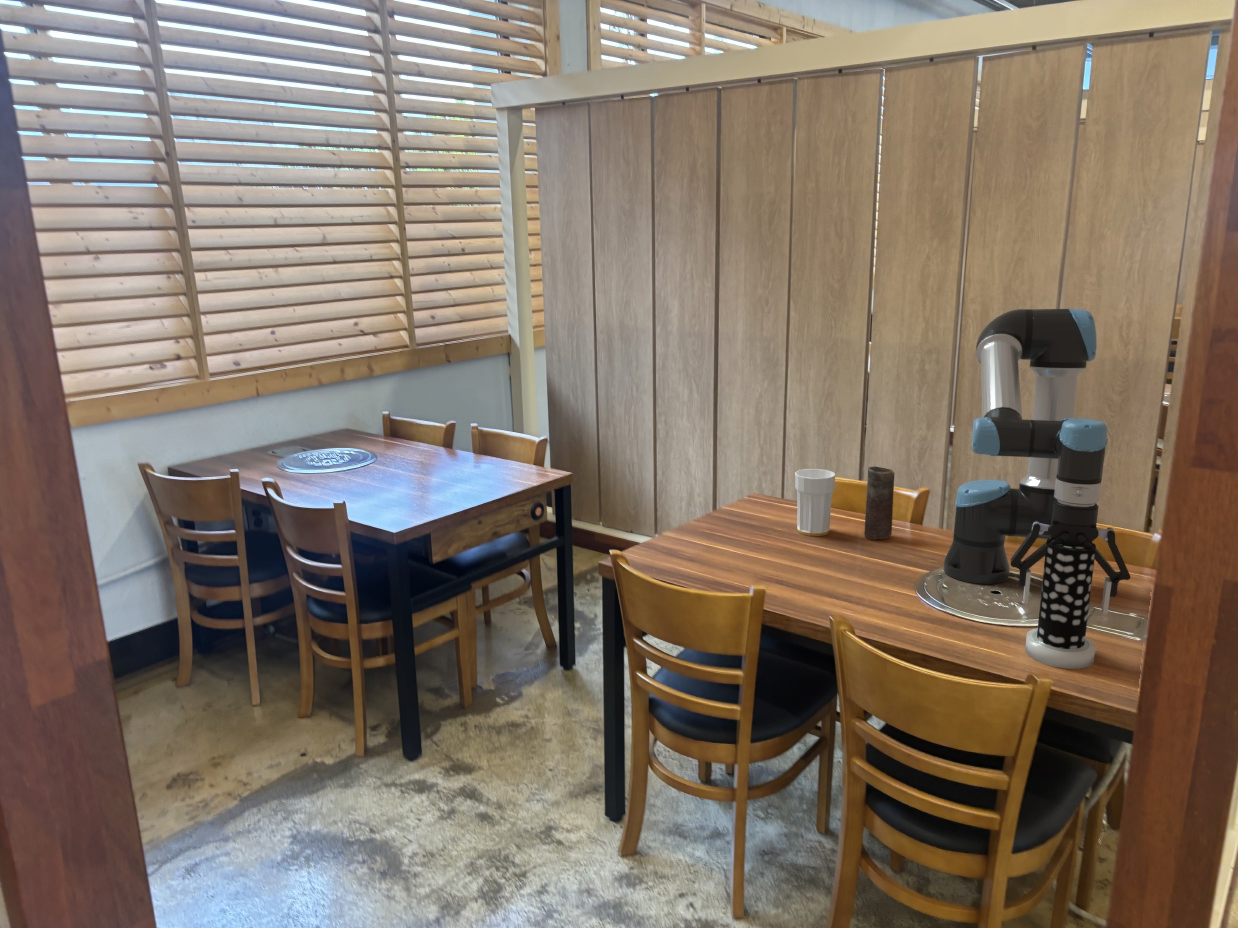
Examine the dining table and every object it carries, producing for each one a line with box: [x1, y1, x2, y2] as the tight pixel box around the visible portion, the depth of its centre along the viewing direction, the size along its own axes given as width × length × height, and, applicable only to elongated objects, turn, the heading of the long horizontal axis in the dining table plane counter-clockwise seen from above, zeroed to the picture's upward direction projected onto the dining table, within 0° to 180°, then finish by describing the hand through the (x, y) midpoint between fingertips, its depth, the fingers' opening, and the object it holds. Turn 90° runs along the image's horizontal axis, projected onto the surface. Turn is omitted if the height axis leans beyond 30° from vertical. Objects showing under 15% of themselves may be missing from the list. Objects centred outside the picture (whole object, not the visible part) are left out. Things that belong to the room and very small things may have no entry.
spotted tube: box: [1037, 538, 1097, 649], centre depth 160 cm, size 8×8×20 cm
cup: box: [794, 468, 836, 537], centre depth 238 cm, size 11×11×17 cm
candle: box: [863, 466, 895, 541], centre depth 232 cm, size 8×7×20 cm
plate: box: [1024, 627, 1096, 670], centre depth 163 cm, size 12×12×3 cm
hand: (1064, 606), depth 161 cm, fingers open, 13 cm apart
